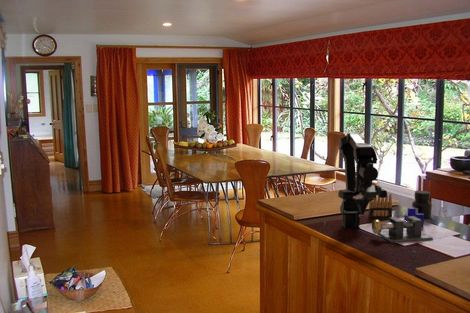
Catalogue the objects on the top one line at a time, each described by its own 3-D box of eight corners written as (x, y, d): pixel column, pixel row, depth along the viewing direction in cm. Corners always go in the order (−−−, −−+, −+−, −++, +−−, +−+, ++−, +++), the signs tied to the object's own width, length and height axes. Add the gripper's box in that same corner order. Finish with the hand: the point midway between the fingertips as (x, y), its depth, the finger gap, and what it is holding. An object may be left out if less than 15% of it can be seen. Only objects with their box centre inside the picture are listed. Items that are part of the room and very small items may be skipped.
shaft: (377, 235, 204) (378, 221, 203) (371, 231, 209) (371, 218, 209) (415, 233, 207) (415, 219, 206) (408, 229, 212) (408, 216, 212)
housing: (391, 242, 202) (392, 223, 201) (377, 233, 214) (378, 216, 213) (432, 239, 205) (433, 221, 204) (416, 231, 217) (417, 214, 216)
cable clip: (404, 220, 235) (404, 208, 234) (413, 220, 235) (414, 207, 234) (413, 227, 223) (413, 214, 223) (423, 227, 223) (423, 214, 223)
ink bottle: (411, 213, 247) (412, 189, 245) (431, 215, 244) (432, 190, 242) (411, 218, 238) (412, 193, 236) (431, 220, 235) (432, 194, 233)
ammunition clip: (391, 217, 240) (391, 192, 238) (392, 218, 238) (393, 193, 237) (368, 217, 240) (369, 192, 239) (369, 218, 239) (370, 193, 237)
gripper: (349, 181, 193) (348, 221, 195) (394, 179, 196) (393, 218, 198) (338, 176, 204) (337, 214, 206) (381, 174, 207) (380, 211, 209)
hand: (362, 214), depth 205 cm, fingers closed
